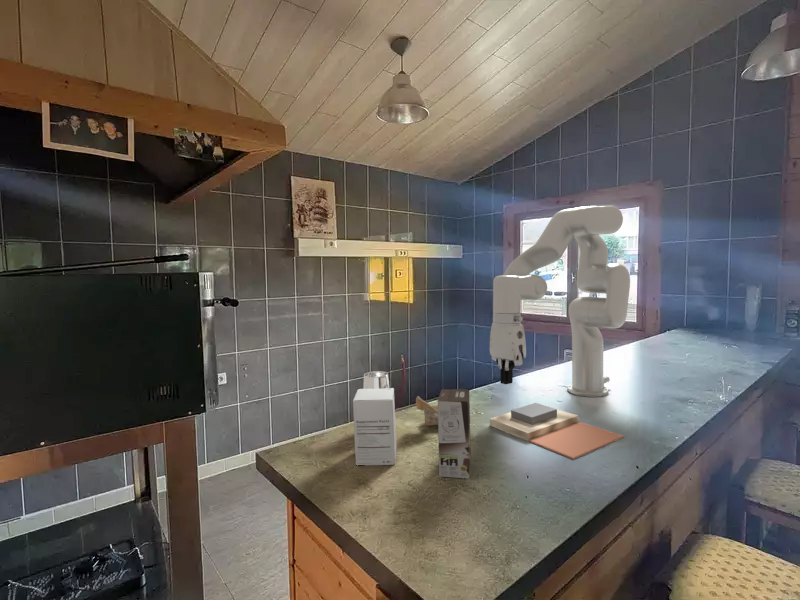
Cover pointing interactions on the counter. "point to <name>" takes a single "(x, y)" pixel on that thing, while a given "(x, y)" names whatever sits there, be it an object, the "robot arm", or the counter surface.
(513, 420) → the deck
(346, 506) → the counter surface
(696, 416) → the counter surface
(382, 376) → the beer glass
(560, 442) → the mat
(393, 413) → the supplement box
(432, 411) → the oil lamp
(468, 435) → the coffee box
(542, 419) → the tile
